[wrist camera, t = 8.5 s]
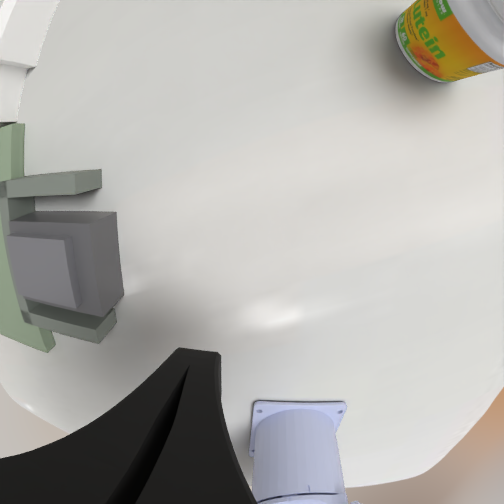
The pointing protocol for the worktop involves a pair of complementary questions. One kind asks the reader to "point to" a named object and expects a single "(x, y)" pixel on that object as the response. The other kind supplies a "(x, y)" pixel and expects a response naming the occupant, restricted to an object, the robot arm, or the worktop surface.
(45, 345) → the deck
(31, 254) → the dark grey block
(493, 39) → the supplement bottle
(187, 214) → the worktop surface
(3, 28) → the white stepped block
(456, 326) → the worktop surface
